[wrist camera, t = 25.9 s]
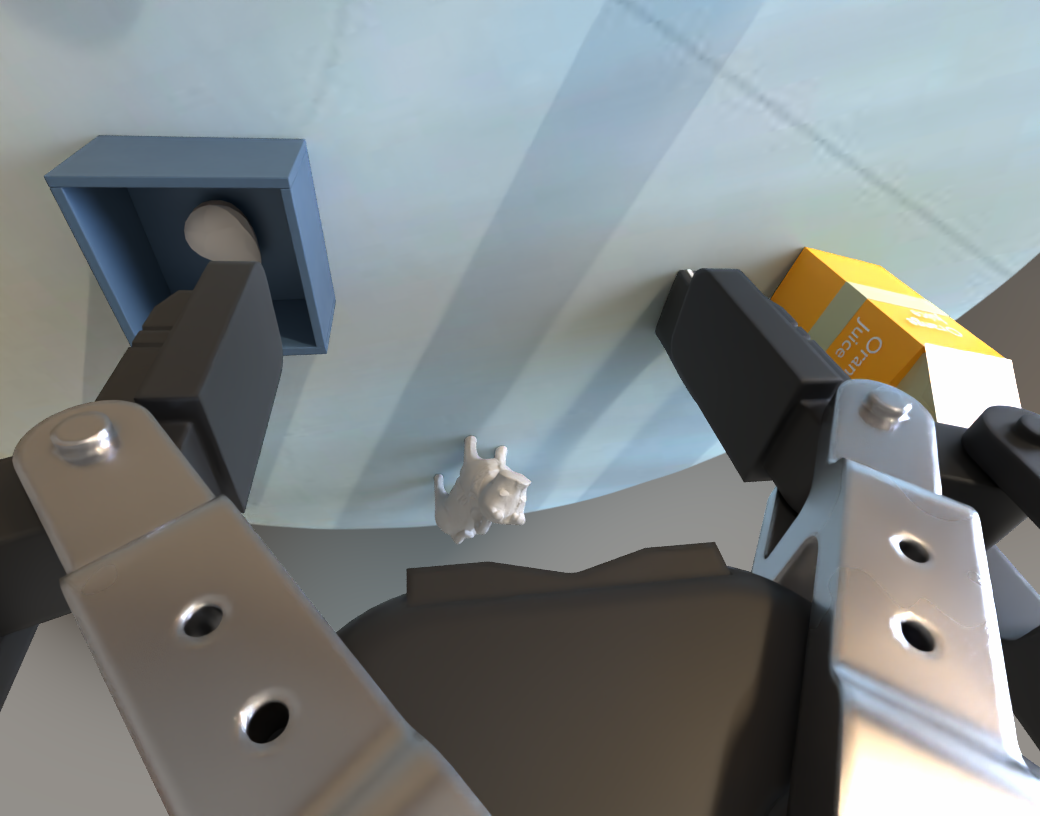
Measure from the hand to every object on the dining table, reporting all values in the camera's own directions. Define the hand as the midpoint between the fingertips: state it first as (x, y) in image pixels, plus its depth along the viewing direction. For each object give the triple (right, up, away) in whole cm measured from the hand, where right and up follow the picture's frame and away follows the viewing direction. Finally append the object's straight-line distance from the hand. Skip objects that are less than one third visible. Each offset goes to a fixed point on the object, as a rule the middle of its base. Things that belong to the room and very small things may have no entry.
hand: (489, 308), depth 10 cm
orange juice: (+28, +9, +40) cm, 49 cm away
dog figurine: (-4, -7, +47) cm, 48 cm away
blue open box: (-19, +8, +25) cm, 32 cm away
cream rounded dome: (-19, +10, +27) cm, 35 cm away
